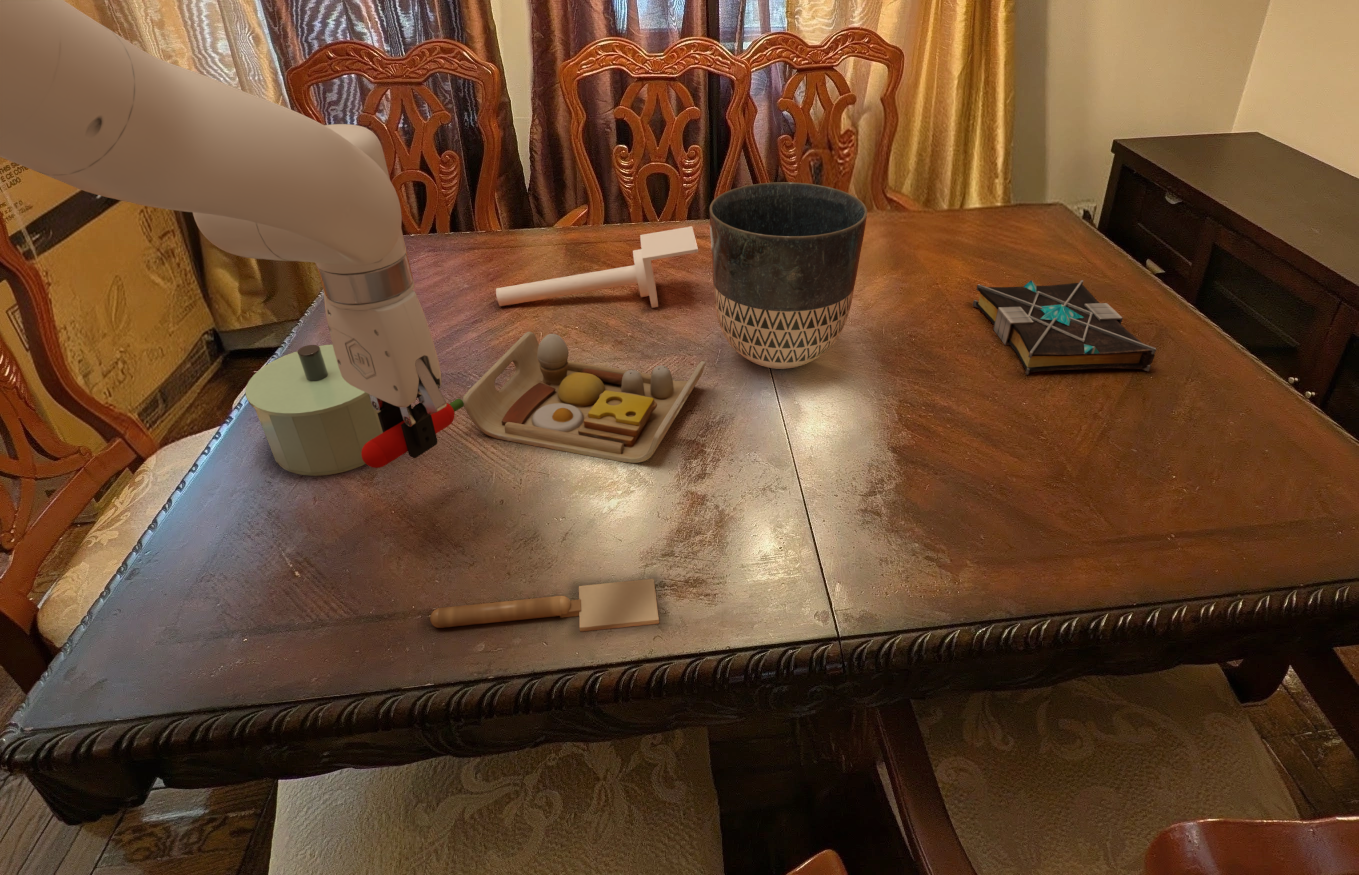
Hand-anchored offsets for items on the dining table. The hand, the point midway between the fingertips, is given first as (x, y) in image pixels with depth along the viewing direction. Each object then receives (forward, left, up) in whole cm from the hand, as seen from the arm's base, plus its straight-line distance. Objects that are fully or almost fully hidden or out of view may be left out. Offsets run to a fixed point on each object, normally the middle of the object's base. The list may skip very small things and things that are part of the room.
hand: (412, 443), depth 81 cm
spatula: (-3, -21, -9) cm, 23 cm away
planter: (+50, -15, -10) cm, 53 cm away
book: (+77, -45, -10) cm, 89 cm away
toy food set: (+25, -2, -10) cm, 27 cm away
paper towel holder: (+50, +18, -10) cm, 54 cm away
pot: (+3, +20, -9) cm, 23 cm away
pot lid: (+3, +20, -1) cm, 21 cm away
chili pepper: (0, 0, 0) cm, 0 cm away
